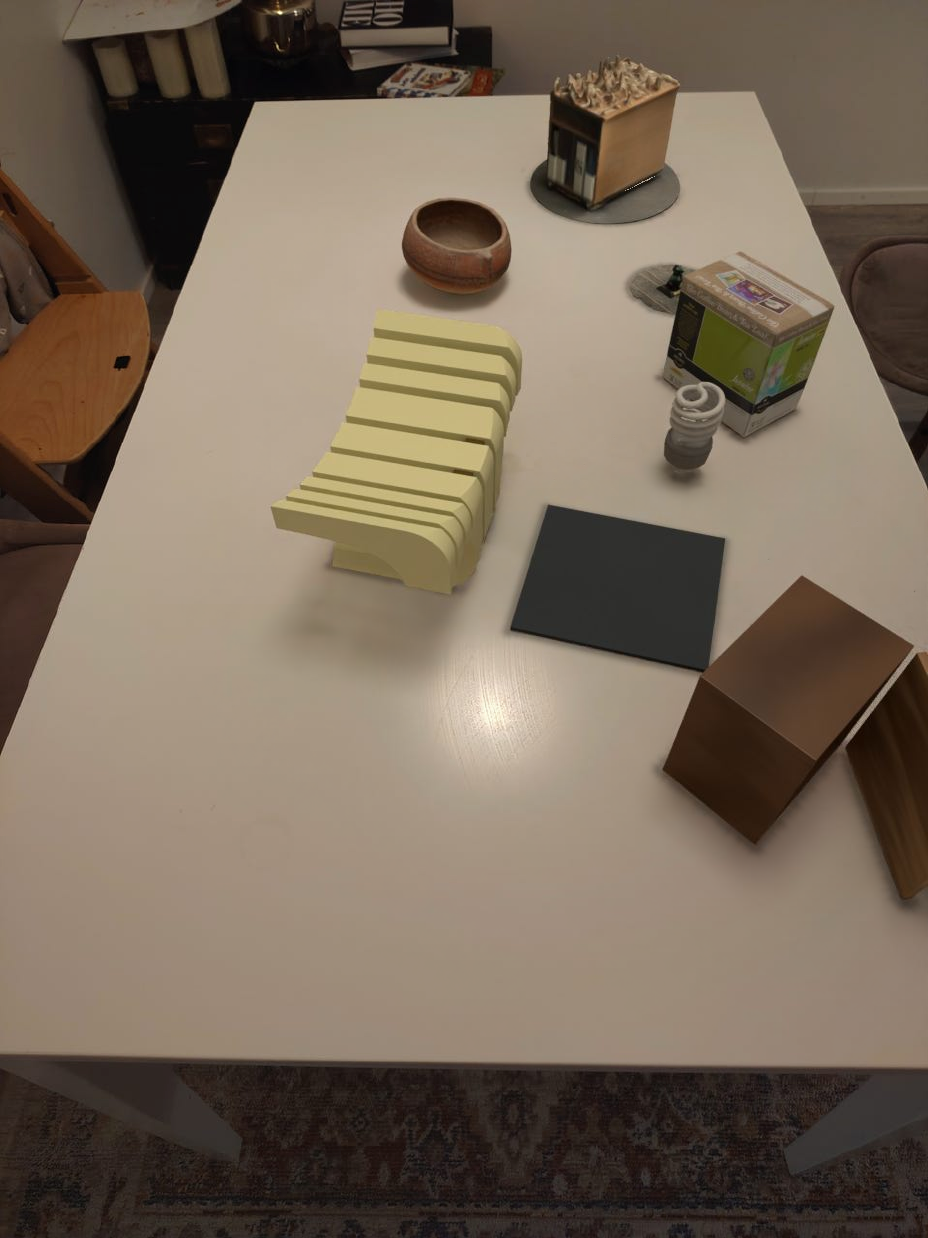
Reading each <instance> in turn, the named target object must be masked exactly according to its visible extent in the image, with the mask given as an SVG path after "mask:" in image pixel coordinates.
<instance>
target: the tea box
mask: <svg viewBox="0 0 928 1238" xmlns="http://www.w3.org/2000/svg"><path fill="white" fill-rule="evenodd" d="M695 270H696V271H693V272H691V273H688V274H686V275H684V276H683V281H682V286H681V290H680V295H679V299H678V304H677V309H676V313H674V314H675V315H674V319H673V324H672V328H671V334H670V337H669V343H668V347H667V352H666V358H665V362H664V367H663V372H662V378H663V379H664V380H666V381H667V382H668V383H670V384H671V385H673V387H676V388H677V390H679V389H680V388H681V387H683V386H687V385H698V384H699V383H701V382H709V383H713V384H714V385H716V386H718V387H719V388H720V389H721V390H722V391H723V393H724V395H725V405H724V413H723V416H722V420H721V422H722V423H724V424H726V425H727V426H728V427H730V428H731V429H732V430H733V431H735V432H736V433H737V434H739V435H740V436H742V437H743V438H744V437H747V436H750V435H751V434H753V433H754V432H756V431H758V430H760V429H762V428H764V427H766V426H768V425H770V424H772V423H773V422H775V421H777V420H778V419H781V418H783V417H784V416H786V415H788V414H789V413H791V412H793V411H795V410H796V408H797V407H798V405H799V403H800V401H801V399H802V396H803V393H804V390H805V388H806V386H807V383H808V380H809V377H810V375H811V373H812V369H813V368H814V367H813V366H814V364H815V362H816V359H817V356H818V353H819V350H820V347H821V345H822V342H823V340H824V337H825V335H826V332H827V329H828V327H829V325H830V321H831V319H832V315H833V312H834V310H835V305H834V304H833V303H832V302H830V301H828V300H827V299H825V298H823V297H821V296H819V295H818V294H815V293H814V292H813V291H810V290H809V289H807V288H806V287H803V286H802V285H800V284H799V283H796V282H795V281H793V280H791V279H789V278H788V277H786V276H785V275H783V274H782V273H780V272H778V271H776V270H774V269H773V268H771V267H769V266H767V265H766V264H764V263H762V262H761V261H758V260H757V259H756V258H753V257H751V256H749V255H748V254H746V253H745V252H743V251H738V252H736V253H733V254H731V255H728V256H726V257H724V258H722V259H719V260H717V261H715V262H712V263H710V264H707V265H705V266H703V267H700V268H698V269H695ZM685 393H698V392H696V391H690V392H685ZM708 397H709V396H708ZM709 398H710V397H709ZM711 399H712V398H711ZM712 400H713V399H712ZM693 401H697V400H693ZM713 401H714V400H713ZM704 405H706V406H708V405H707V404H704ZM708 407H709V408H710V406H708ZM710 409H711V408H710Z"/></svg>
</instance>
